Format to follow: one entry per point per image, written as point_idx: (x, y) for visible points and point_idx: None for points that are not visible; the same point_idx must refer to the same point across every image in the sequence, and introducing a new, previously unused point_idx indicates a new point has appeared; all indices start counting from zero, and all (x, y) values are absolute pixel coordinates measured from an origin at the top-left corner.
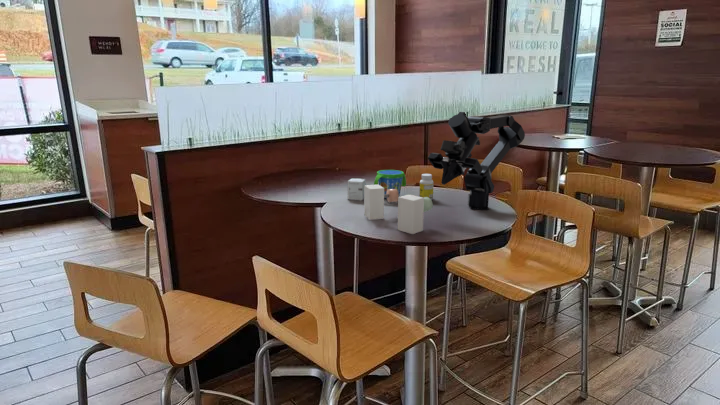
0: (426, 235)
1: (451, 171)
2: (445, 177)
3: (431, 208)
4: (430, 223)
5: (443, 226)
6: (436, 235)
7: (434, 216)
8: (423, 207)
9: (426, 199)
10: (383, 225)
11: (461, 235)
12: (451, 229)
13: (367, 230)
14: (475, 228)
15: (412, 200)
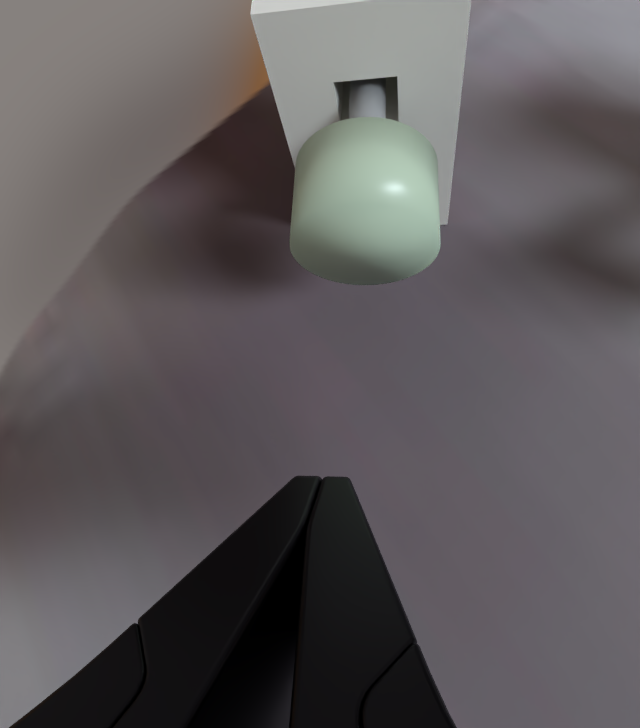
0: (242, 186)
1: (22, 720)
2: (264, 549)
3: (308, 268)
4: (379, 392)
5: (259, 401)
6: (195, 225)
7: (496, 597)
8: (275, 99)
9: (322, 158)
10: (585, 128)
11: (73, 330)
12: (179, 385)
13: (566, 13)
14: (48, 532)
15: None
